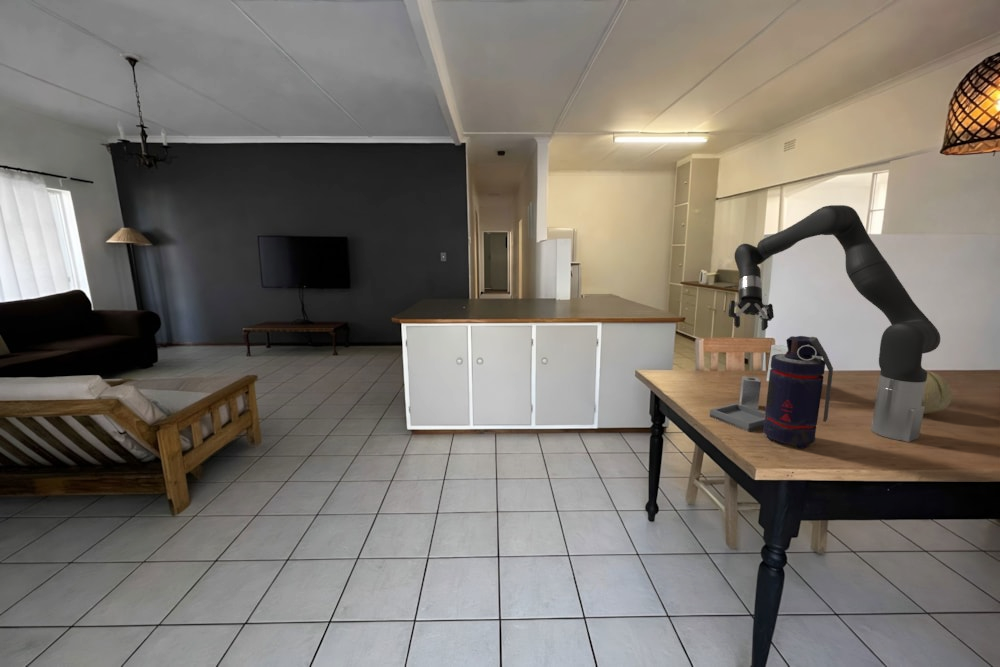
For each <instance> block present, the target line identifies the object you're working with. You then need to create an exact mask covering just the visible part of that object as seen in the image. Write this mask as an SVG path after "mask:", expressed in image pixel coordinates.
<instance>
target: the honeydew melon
mask: <svg viewBox="0 0 1000 667" xmlns="http://www.w3.org/2000/svg"><path fill="white" fill-rule="evenodd" d="M926 371H927V380H926V385H925V390H924V395H923V400H922V405H921V406H924V413H923V415H925V414H931V413H932V414H933V413H937V412H941V411H943V410H945V409H946V408H947V407H948V406H949V405H950V403H951V401H952V398H953V392H952V389H951V386H950V385H949V383H948V381H947V380H946V379H944V378H943V377H942V376H941V375H940V374H937V373H935V372H933V371H929V370H926Z"/></svg>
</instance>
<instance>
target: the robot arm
mask: <svg viewBox="0 0 1000 667" xmlns="http://www.w3.org/2000/svg"><path fill="white" fill-rule="evenodd" d="M816 236H834V238H836V239H837V242H839V244H840V246H841V247H842V250H843V251H844V254H845V255H844V256H845V272H846V274H847V276H848V278H849V280H850V282H851V283H852V285H853V286H854V287H855V289H856V291H858V293H859V294H860V295H861V297H862V296H863V298H865V299H866V300H867V301H869V303H871V304H872V305H873V306H875V307H876V308H877V309H879V311H881V312H882V313H883V314H884V316H886V318H887V320H888V321H889V322H890V324H891V325H889V326H888V327H886V328H885V329H884V331H883V332H882V335H881V338H880V343H879V344H880V345H879V354H878V366H879V369H880V374H879V379H878V385H877V392H876V397H875V403H874V408H873V409H874V410H873V414H872V415H873V416H872V420H871V426H870V427H871V428H870V429H871V431H872V433H875V434H876V435H879V436H881V437H885V438H888V439H892V440H899V441H903V442H907V443H910V442H912V441H915V440H918V439H919V438H920V435H921V434H920V433H921V428H922V422H923V418H924V414H923V413H924V406H921V405H922V400H923V395H924V390H925V385H926V380H927V371H928V370H926V369H925V368H923V367H922V360H923V354H927V353H931V352H933V351H935V350H936V349H937V348H938V347H939V346H940V343H941V335H940V332H939V329H938V328H937V327H936V326H935V325H934V324H933V322H932V321H930V319H929V318H928V317H927V316H926V315H925V313H924V312H923V311H922V310H921V309H920V308H919V307H918V306H917V304H916V303H915V302H914V300H913V299H912V298H911V296H910V295H909V293H908V291H907V290H906V288H905V287H904V285H903V283H902V282H901V281H900V279H899V278H898V277H897V275H896V273H895V271H894V270H893V269H892V267H891V266H890V265H889V263H888V261H887V260H886V258H885V257H884V256H883V255H882V253H881V252H880V250H879V249H878V248H877V245H875V243H874V241H873V240H872V239H871V237H870V236H869V234H868V232H867V230H866V228H865V225H864V224H863V222H862V219H861V218H860V216H859V214H858V212H857V211H856V210H855V209H854V207H851V206H849V205H842V204H840V205H839V204H837V205H835V204H834V205H832V204H831V205H826V206H823V207H820V208H818V209H817V210H814V211H813V212H812V213H811V214H808V215H807V216H805V217H804V218H802V219H801V220H799V221H797V222H796V223H794V224H792V225H791V226H789V227H786V228H784V229H782V230H781V231H779V232H776V233H773V234H772V235H769V236H767V237H765V238H763V239H761V240H759V242H758V243H757V246H755V245H753V244H750V243H742V244H739V245H738V246H737V248H736V250H735V252H734V260H735V261H734V262H735V263H736V264H735V265H736V267H737V269H738V274H739V276H738V277H739V278H738V279H739V283H738V302H737V301H735V300H734V299H733V300H731V301H730V303H729V306H728V317H729V318H733V325H734V327H735V328H737V329H739V327H740V326H741V315H743V314H744V315H751V316H756V317H757V318H758V319H760V320H761V331H766V329H768V327H769V323H768V322H770V321H772V319H774V317H775V314H774V309H773V308H774V307H773V304H772V303H769V304H764V303H763V286H762V278H761V277H762V276H761V274H762V273H761V272H762V271H761V268H760V266H759V265H761V264H762V263H764V262H765V261H766V260H767V259H769V258H770V257H772V256H774V255H776V254H780V253H782V252H784V251H786V250H789V249H790V248H792V247H793V246H794V245H796V244H797V243H799V242H800V241H802V240H806V239H808V238H812V237H816ZM736 307H737V308H738V309H739V310H738V312H735V308H736ZM764 310H765V311H764Z"/></svg>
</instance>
